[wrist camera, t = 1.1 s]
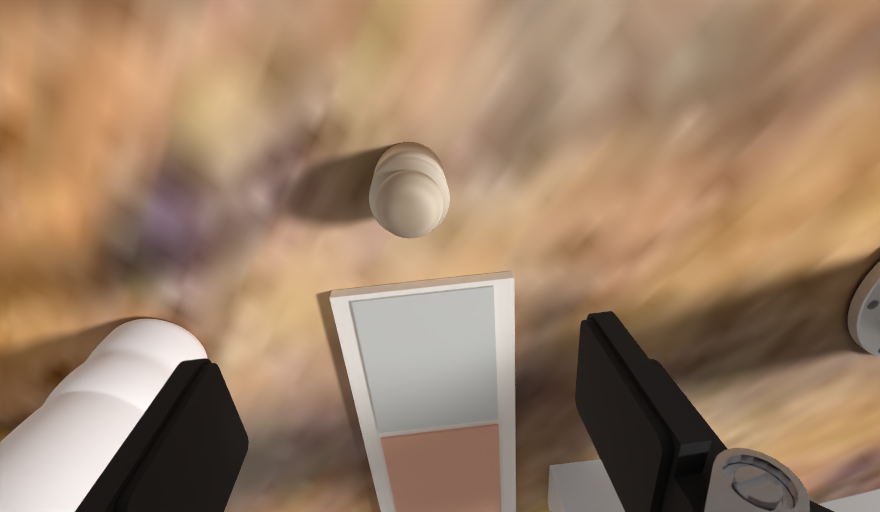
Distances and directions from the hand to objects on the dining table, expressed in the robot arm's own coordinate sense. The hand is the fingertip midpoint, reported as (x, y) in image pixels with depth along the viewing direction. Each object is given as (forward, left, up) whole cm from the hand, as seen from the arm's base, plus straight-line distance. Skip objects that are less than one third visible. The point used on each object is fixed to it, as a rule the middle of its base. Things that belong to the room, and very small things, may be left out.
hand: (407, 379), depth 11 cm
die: (-13, +32, -18) cm, 40 cm away
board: (0, +21, -18) cm, 28 cm away
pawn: (0, 0, -18) cm, 18 cm away
